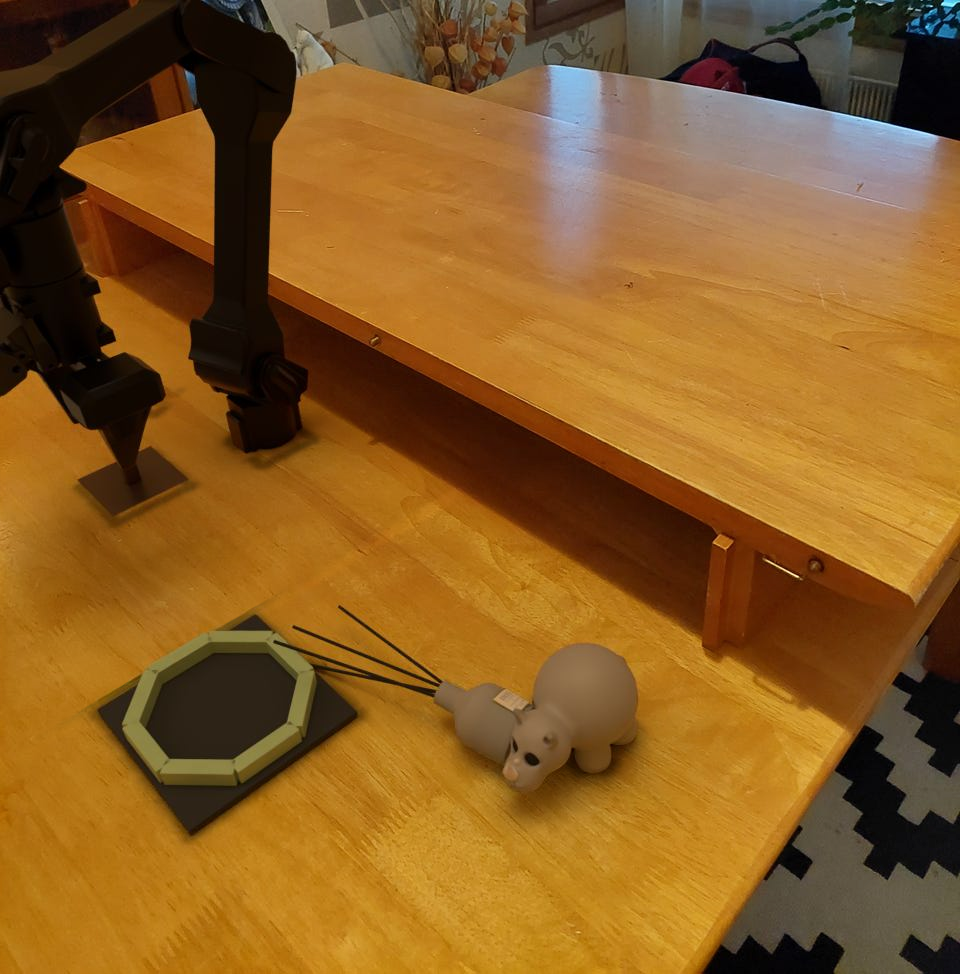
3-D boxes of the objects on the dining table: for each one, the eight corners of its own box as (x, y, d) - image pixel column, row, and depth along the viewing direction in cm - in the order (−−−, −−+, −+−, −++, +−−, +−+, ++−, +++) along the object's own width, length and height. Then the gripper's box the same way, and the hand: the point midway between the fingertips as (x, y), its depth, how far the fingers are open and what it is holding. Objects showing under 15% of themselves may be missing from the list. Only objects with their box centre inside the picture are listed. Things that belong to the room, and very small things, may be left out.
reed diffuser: (511, 741, 59) (273, 606, 67) (483, 824, 62) (257, 685, 69) (572, 680, 68) (356, 567, 76) (546, 755, 71) (339, 638, 78)
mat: (257, 618, 77) (255, 613, 77) (358, 716, 69) (357, 711, 69) (99, 714, 70) (96, 709, 70) (191, 835, 62) (188, 830, 62)
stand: (153, 453, 96) (136, 400, 92) (191, 486, 92) (175, 433, 88) (79, 487, 92) (59, 434, 88) (115, 524, 88) (95, 470, 84)
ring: (252, 617, 77) (249, 605, 76) (347, 709, 69) (345, 697, 68) (102, 707, 70) (97, 695, 69) (189, 821, 62) (184, 809, 61)
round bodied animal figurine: (466, 782, 65) (460, 705, 59) (577, 682, 71) (580, 605, 66) (543, 848, 60) (544, 772, 55) (654, 736, 67) (664, 658, 62)
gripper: (-115, 267, 69) (-36, 438, 78) (-24, 356, 58) (55, 542, 67) (32, 222, 74) (89, 387, 84) (140, 296, 64) (191, 476, 73)
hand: (103, 443), depth 77 cm, fingers open, 9 cm apart
